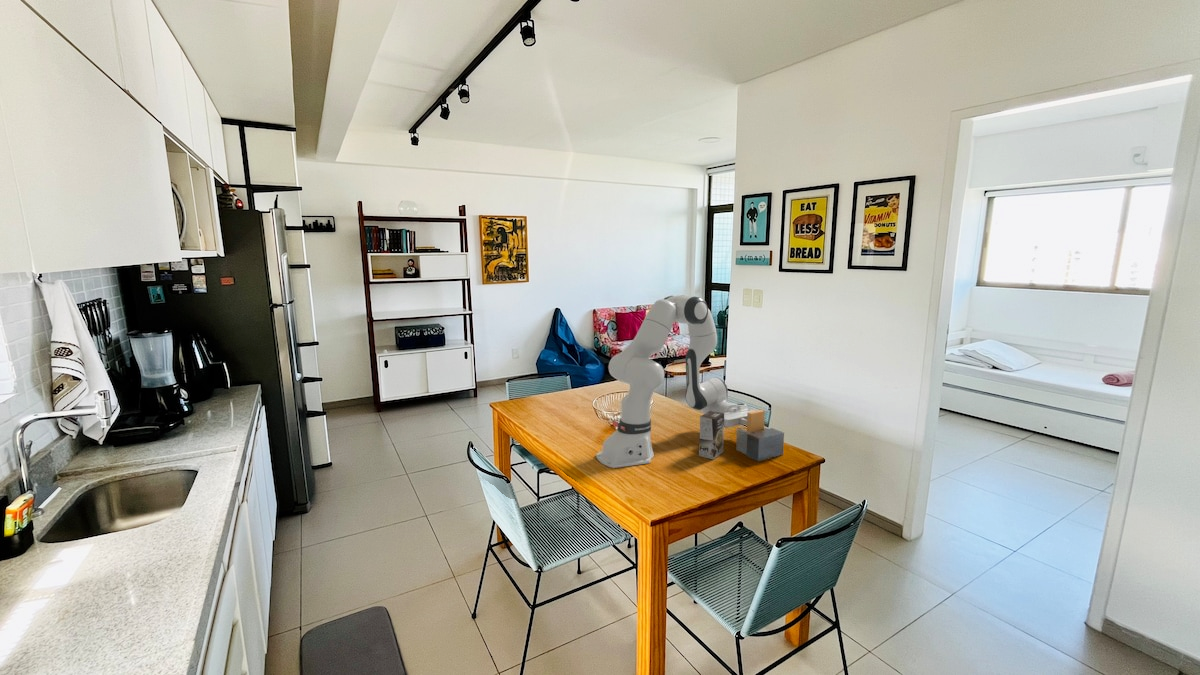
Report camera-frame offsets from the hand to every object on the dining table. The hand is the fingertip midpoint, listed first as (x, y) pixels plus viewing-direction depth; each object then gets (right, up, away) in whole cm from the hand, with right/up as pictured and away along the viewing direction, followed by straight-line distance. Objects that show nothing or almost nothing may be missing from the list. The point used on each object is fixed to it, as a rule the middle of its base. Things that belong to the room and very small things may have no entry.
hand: (753, 423), depth 192 cm
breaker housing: (+2, -11, -1) cm, 12 cm away
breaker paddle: (+1, -5, 0) cm, 5 cm away
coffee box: (-17, -12, -2) cm, 21 cm away
